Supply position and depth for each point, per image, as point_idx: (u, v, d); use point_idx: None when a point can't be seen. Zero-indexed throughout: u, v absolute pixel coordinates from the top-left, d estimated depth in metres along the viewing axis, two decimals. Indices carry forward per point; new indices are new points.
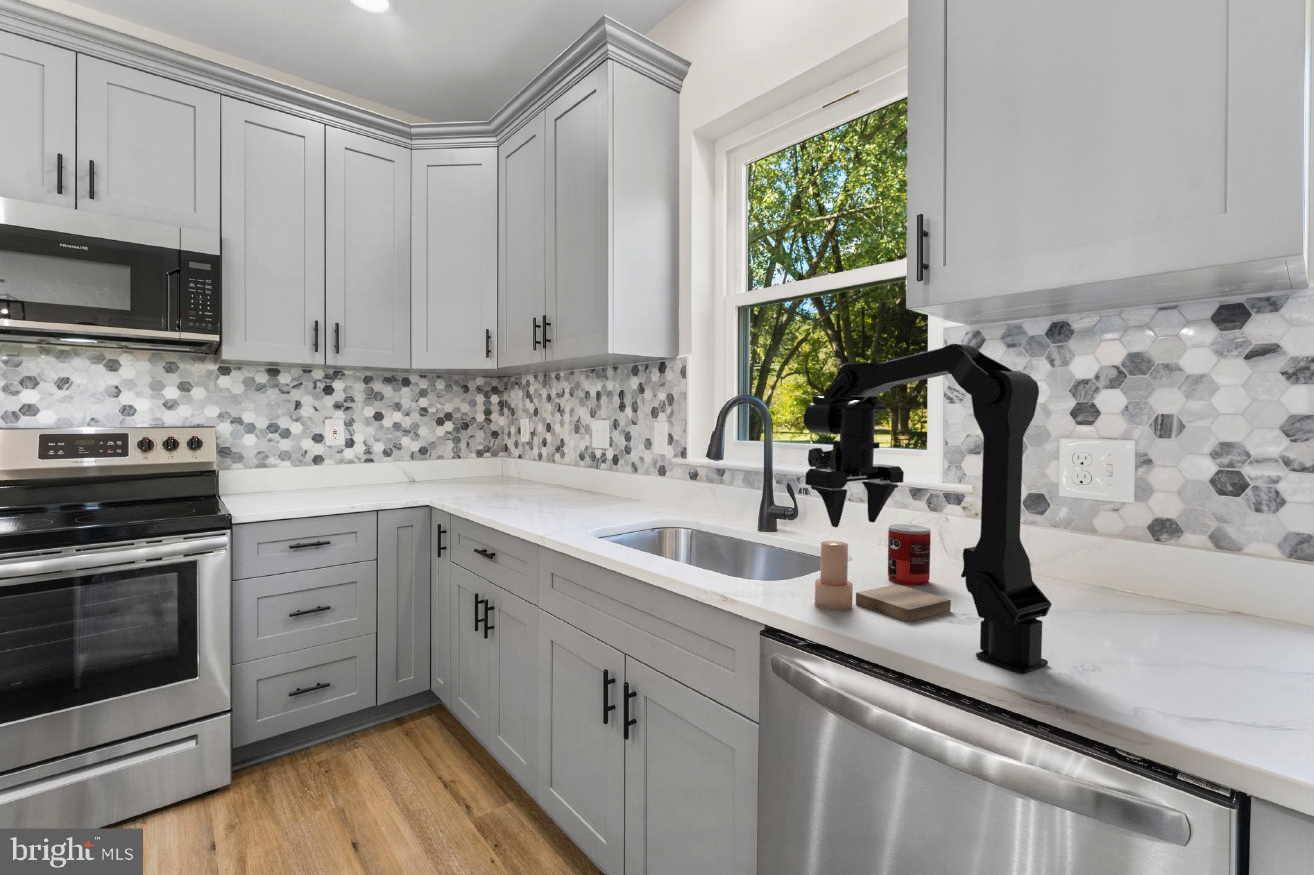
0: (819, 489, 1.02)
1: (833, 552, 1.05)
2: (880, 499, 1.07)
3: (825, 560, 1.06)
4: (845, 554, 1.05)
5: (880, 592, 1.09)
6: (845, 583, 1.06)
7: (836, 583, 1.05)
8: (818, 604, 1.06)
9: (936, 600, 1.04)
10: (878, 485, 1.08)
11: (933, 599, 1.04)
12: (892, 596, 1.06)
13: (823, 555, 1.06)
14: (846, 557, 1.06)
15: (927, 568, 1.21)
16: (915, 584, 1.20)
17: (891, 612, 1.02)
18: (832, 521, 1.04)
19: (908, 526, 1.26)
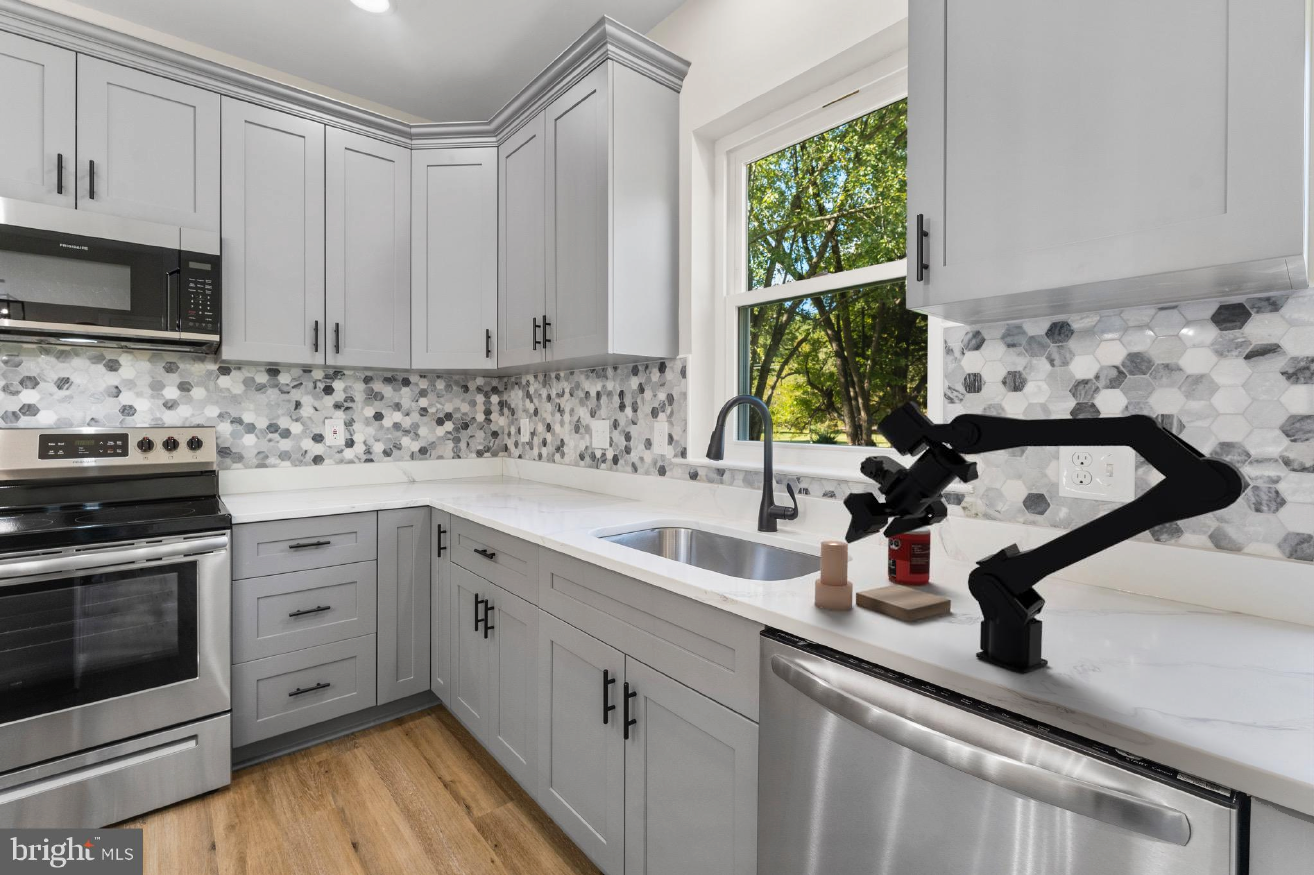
0: None
1: (833, 552, 1.05)
2: (907, 528, 1.00)
3: (825, 560, 1.06)
4: (845, 554, 1.05)
5: (880, 592, 1.09)
6: (845, 583, 1.06)
7: (836, 583, 1.05)
8: (818, 604, 1.06)
9: (936, 600, 1.04)
10: None
11: (933, 599, 1.04)
12: (892, 596, 1.06)
13: (823, 555, 1.06)
14: (846, 557, 1.06)
15: (927, 568, 1.21)
16: (915, 584, 1.20)
17: (891, 612, 1.02)
18: (847, 537, 0.98)
19: None
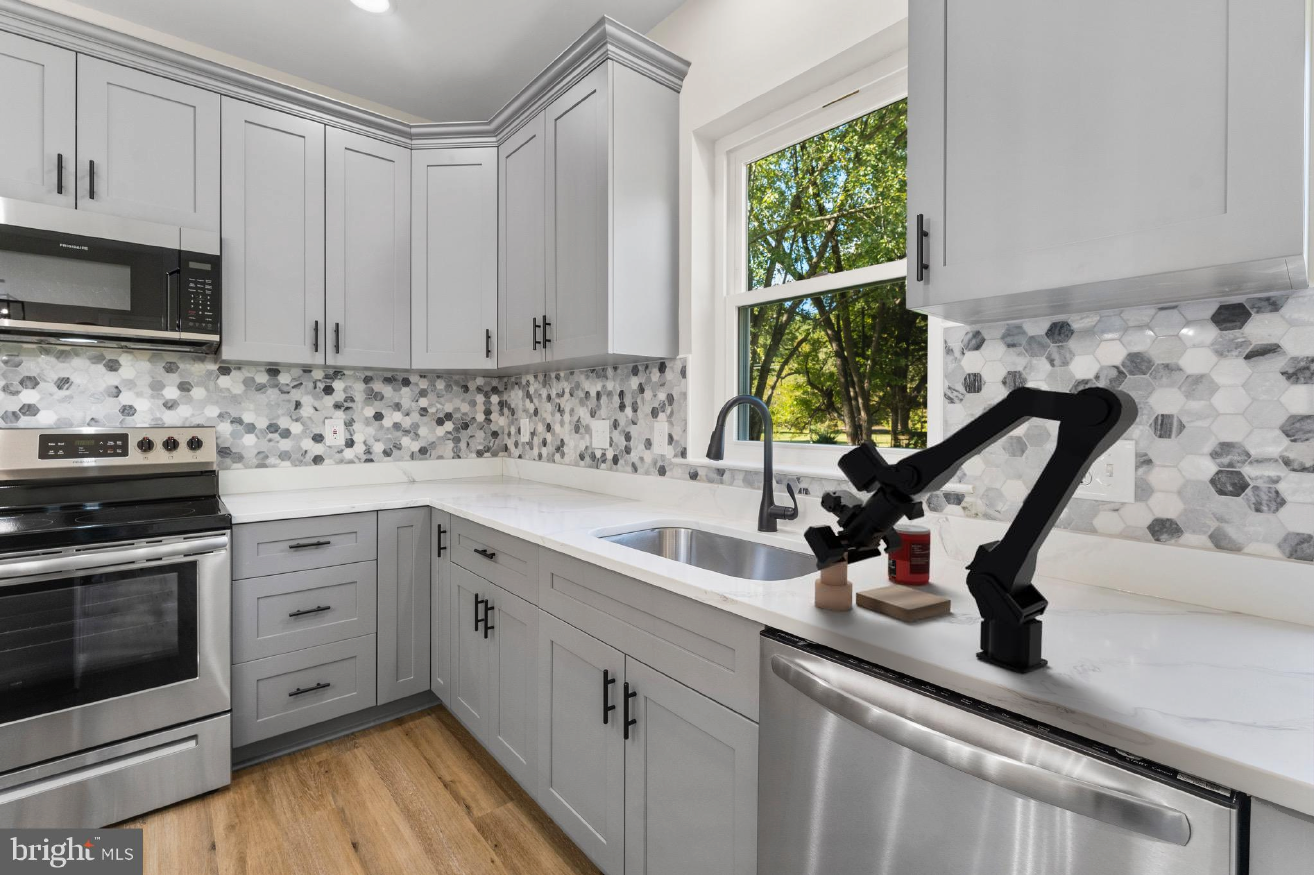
0: None
1: None
2: (856, 558, 1.06)
3: None
4: (845, 554, 1.05)
5: (880, 592, 1.09)
6: (845, 583, 1.06)
7: (836, 583, 1.05)
8: (818, 603, 1.06)
9: (936, 600, 1.04)
10: None
11: (933, 599, 1.04)
12: (892, 596, 1.06)
13: None
14: (845, 557, 1.06)
15: (927, 568, 1.21)
16: (915, 584, 1.20)
17: (891, 612, 1.02)
18: (818, 564, 1.07)
19: (908, 526, 1.26)
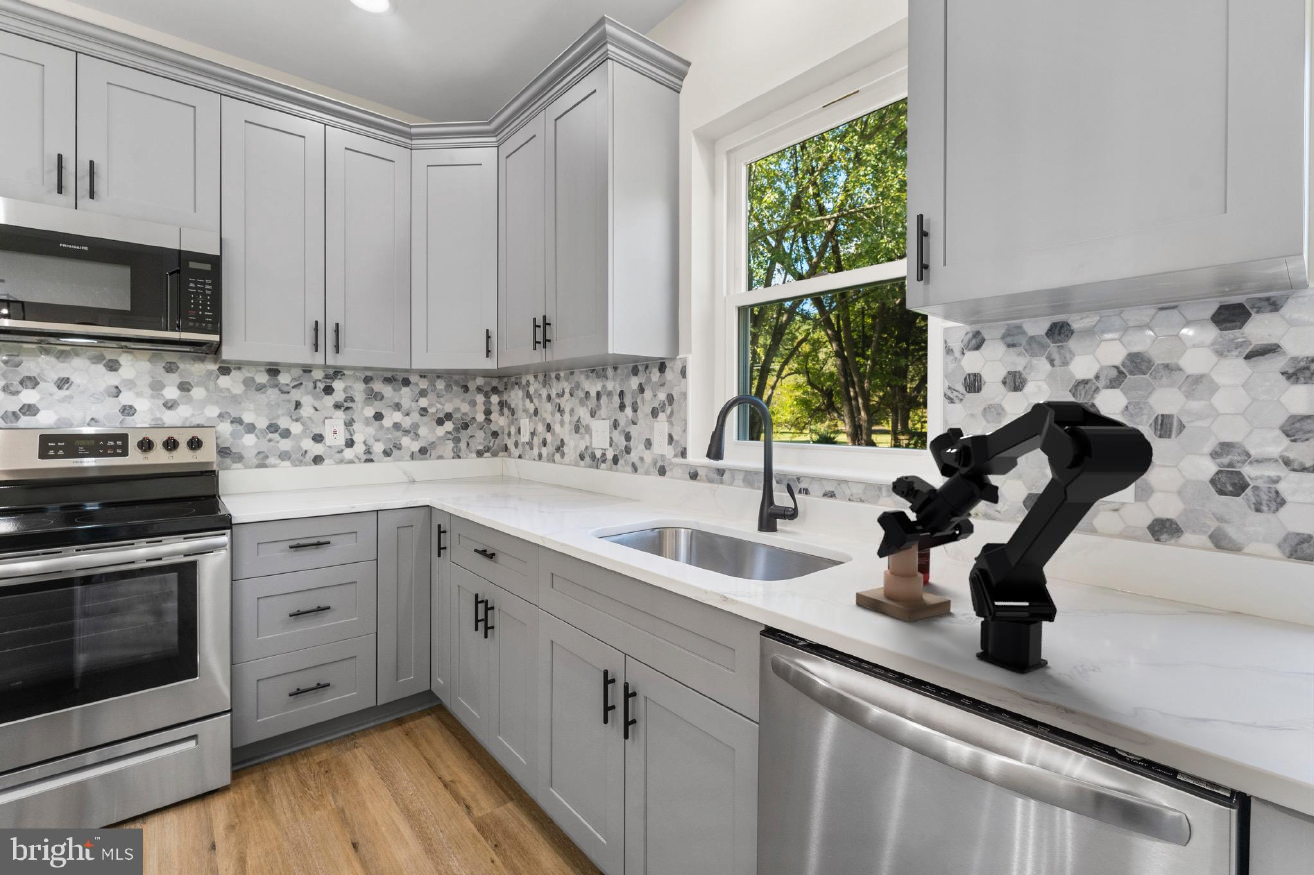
0: None
1: None
2: (935, 543, 1.06)
3: None
4: (916, 544, 1.04)
5: (880, 592, 1.09)
6: (916, 574, 1.04)
7: (907, 574, 1.04)
8: (888, 595, 1.05)
9: (936, 600, 1.04)
10: None
11: (933, 599, 1.04)
12: None
13: None
14: (916, 548, 1.04)
15: (927, 568, 1.21)
16: None
17: (891, 612, 1.02)
18: (879, 552, 1.04)
19: None
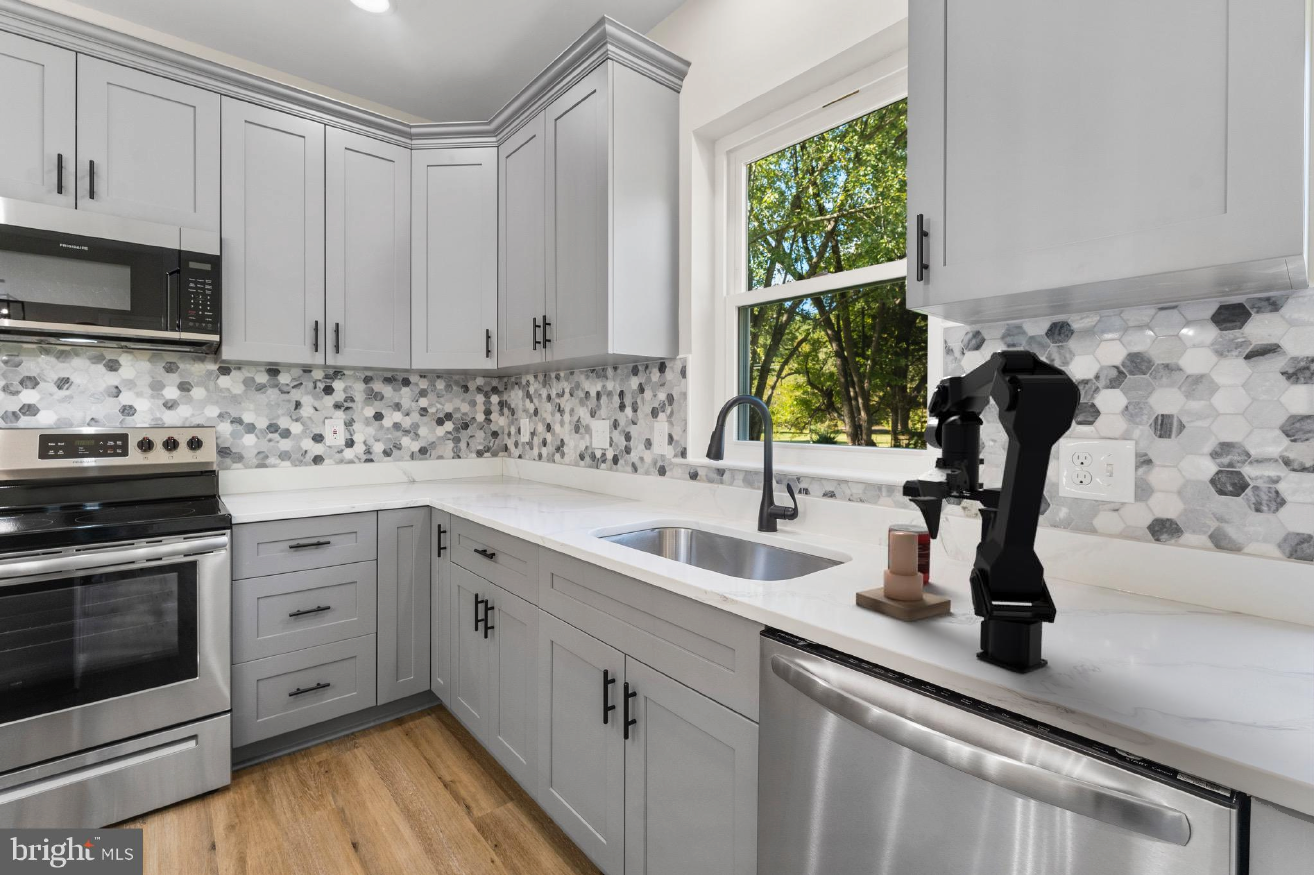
0: None
1: (905, 542, 1.04)
2: (939, 513, 1.07)
3: (896, 549, 1.05)
4: (916, 543, 1.04)
5: (880, 592, 1.09)
6: (916, 573, 1.04)
7: (908, 573, 1.04)
8: (890, 594, 1.05)
9: (936, 600, 1.04)
10: (935, 500, 1.07)
11: (933, 599, 1.04)
12: None
13: (893, 544, 1.05)
14: (917, 546, 1.04)
15: (927, 568, 1.21)
16: None
17: (891, 612, 1.02)
18: None
19: (908, 526, 1.26)
